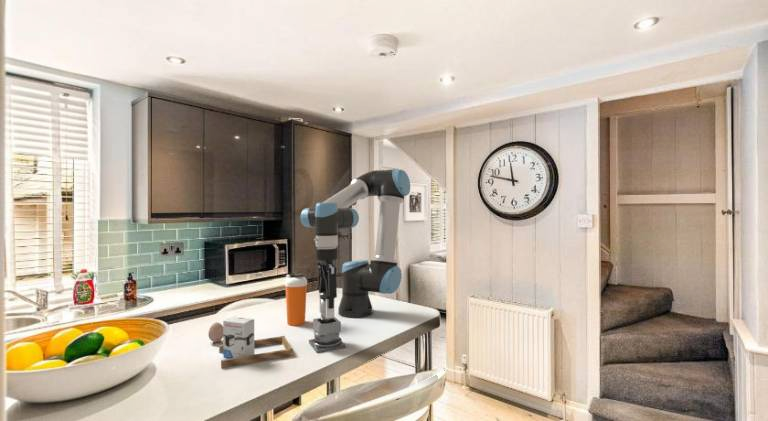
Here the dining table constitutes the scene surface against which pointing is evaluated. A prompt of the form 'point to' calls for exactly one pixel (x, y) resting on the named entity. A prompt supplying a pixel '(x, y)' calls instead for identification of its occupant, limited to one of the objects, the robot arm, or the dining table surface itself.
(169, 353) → the dining table surface
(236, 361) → the bay
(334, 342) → the peg socket
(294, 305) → the shaker bottle
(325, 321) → the handle peg
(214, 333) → the egg
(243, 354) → the ink box
